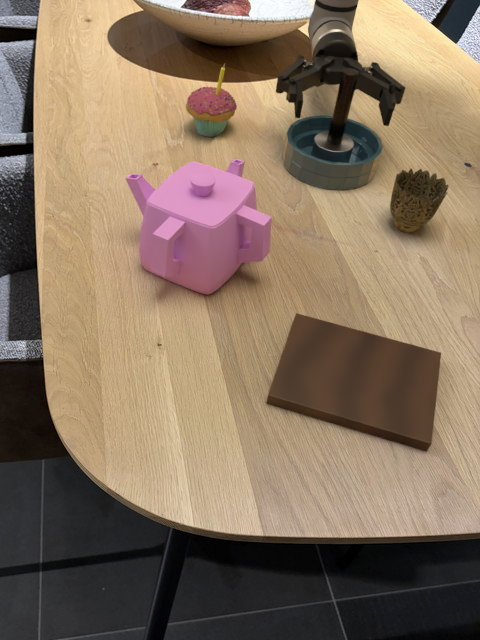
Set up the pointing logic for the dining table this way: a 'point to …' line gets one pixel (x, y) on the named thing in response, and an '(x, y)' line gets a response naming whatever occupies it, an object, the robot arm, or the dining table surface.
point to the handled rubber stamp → (338, 124)
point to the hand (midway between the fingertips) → (343, 113)
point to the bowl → (325, 171)
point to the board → (358, 381)
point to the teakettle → (200, 225)
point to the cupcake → (211, 108)
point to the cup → (416, 199)
